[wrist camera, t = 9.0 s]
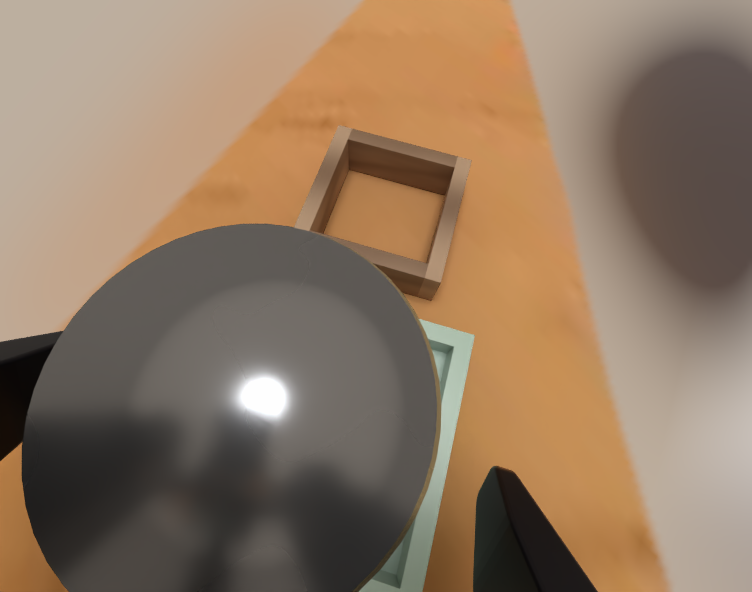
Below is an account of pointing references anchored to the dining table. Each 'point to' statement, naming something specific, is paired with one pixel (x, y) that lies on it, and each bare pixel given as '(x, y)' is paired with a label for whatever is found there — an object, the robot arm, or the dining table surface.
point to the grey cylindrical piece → (233, 421)
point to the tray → (410, 560)
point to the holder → (400, 167)
